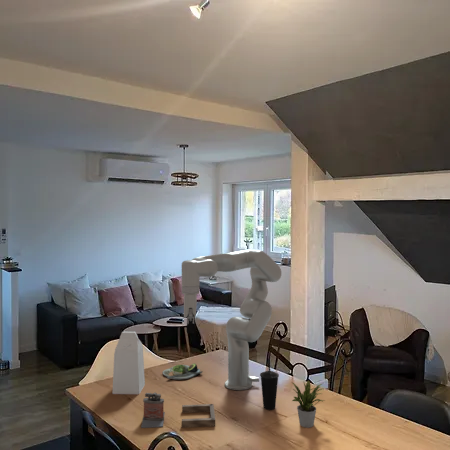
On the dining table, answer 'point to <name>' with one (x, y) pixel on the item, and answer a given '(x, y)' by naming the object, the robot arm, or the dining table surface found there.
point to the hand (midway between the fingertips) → (190, 330)
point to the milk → (128, 365)
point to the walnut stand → (200, 421)
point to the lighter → (153, 407)
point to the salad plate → (182, 372)
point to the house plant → (307, 405)
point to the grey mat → (151, 423)
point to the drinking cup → (269, 388)
